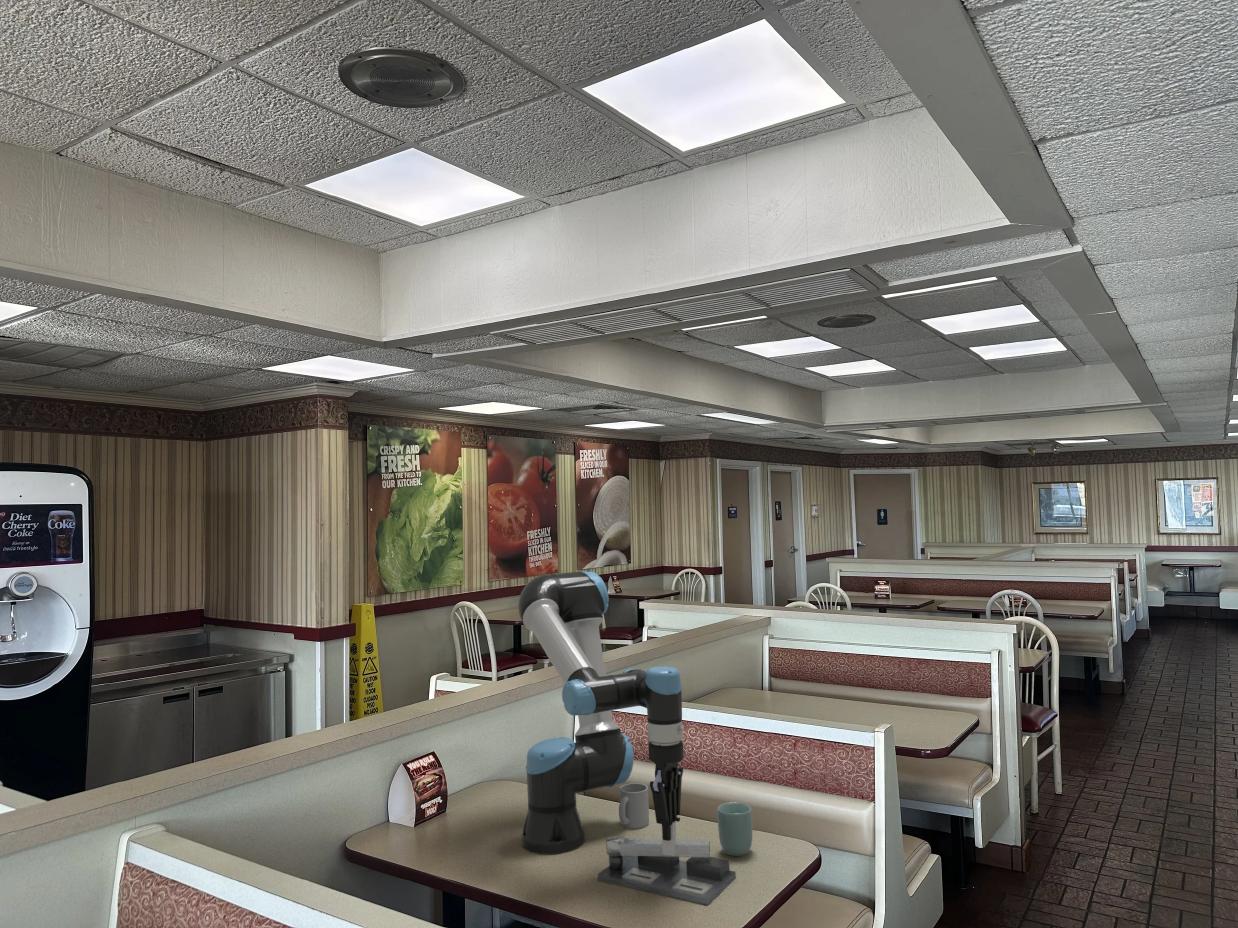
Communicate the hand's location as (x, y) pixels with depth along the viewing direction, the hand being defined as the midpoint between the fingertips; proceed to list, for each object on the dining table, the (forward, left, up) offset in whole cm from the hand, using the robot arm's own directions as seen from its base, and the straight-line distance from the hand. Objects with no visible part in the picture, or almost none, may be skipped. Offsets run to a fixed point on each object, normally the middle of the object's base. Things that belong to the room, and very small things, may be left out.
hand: (669, 853), depth 178 cm
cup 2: (+7, +19, -6) cm, 21 cm away
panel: (-1, 0, -6) cm, 6 cm away
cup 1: (-23, +23, -6) cm, 33 cm away
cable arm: (-4, +1, -1) cm, 4 cm away
